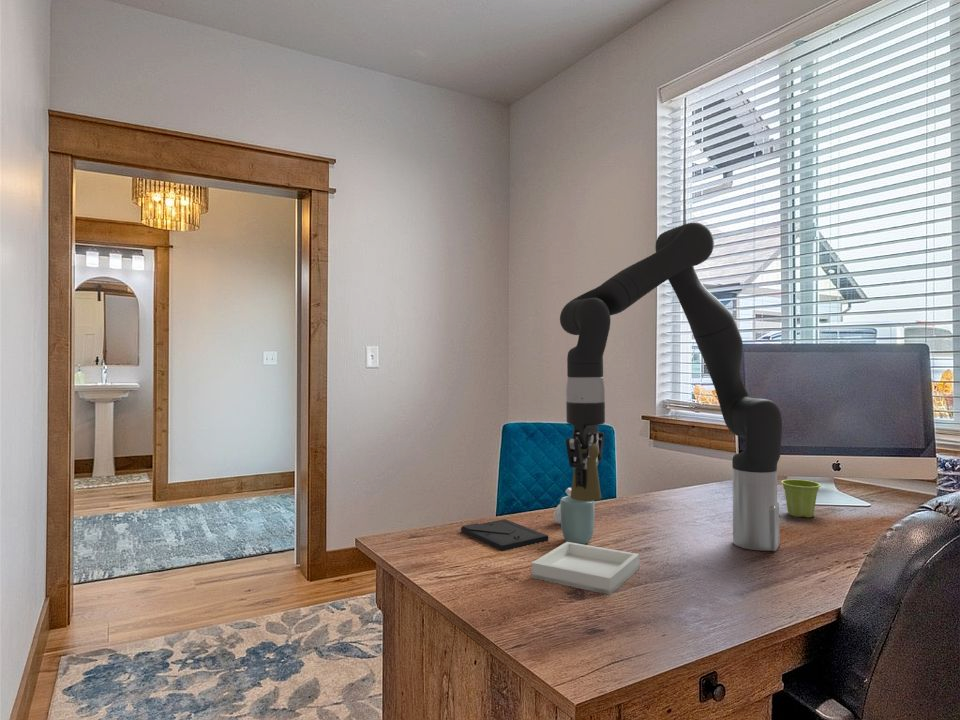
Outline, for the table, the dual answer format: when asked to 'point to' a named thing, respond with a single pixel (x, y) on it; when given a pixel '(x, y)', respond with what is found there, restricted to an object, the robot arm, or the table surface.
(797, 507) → the plant pot
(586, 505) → the cup
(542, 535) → the picture frame
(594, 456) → the olive rounded piece
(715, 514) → the table surface
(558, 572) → the tray
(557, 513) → the bust
